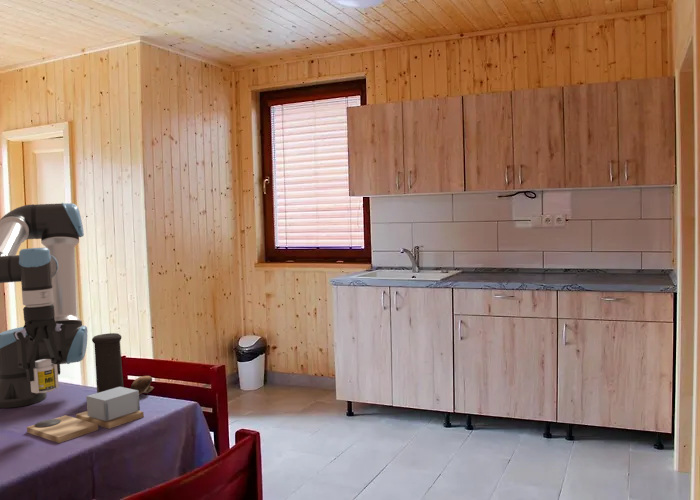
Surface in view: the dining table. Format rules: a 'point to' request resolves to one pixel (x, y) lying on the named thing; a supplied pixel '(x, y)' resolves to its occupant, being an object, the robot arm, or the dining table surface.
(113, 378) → the container
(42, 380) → the supplement bottle
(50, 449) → the dining table surface
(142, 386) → the mushroom
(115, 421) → the pattern board
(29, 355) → the robot arm
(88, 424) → the board
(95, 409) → the cover
